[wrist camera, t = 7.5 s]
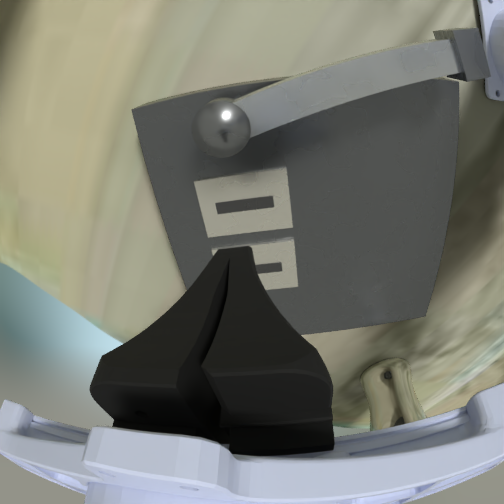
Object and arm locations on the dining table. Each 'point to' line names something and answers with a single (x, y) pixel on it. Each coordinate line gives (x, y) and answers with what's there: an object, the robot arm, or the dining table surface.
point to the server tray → (316, 200)
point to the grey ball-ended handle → (337, 88)
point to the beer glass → (391, 394)
